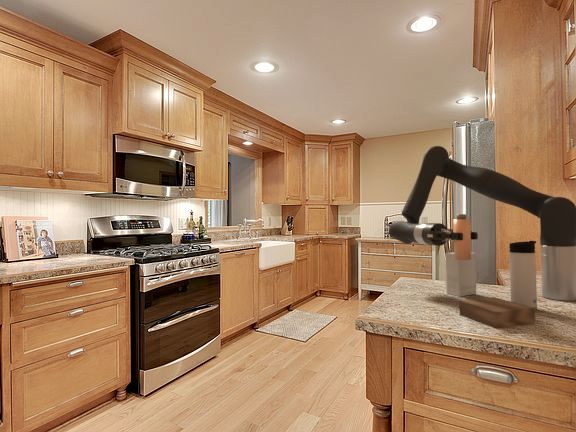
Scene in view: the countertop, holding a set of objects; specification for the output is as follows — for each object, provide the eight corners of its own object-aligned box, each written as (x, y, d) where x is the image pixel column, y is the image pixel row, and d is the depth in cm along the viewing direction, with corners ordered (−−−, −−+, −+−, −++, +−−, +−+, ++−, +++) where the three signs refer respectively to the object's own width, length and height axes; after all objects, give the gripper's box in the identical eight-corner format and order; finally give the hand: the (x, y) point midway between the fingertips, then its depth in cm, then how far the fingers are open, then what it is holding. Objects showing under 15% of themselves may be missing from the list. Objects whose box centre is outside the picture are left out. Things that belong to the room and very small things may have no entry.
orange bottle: (463, 257, 100) (462, 214, 100) (475, 259, 96) (473, 214, 96) (450, 258, 99) (449, 214, 99) (462, 260, 95) (460, 214, 95)
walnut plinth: (494, 310, 94) (493, 297, 94) (534, 323, 82) (534, 307, 83) (459, 314, 91) (459, 300, 91) (496, 328, 80) (496, 312, 80)
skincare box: (463, 291, 119) (462, 250, 120) (477, 294, 114) (476, 252, 114) (445, 293, 117) (444, 252, 117) (459, 297, 111) (458, 253, 111)
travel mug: (543, 312, 92) (541, 241, 92) (517, 311, 93) (515, 241, 93) (531, 306, 98) (529, 240, 98) (507, 305, 99) (505, 240, 100)
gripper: (411, 223, 110) (448, 224, 93) (447, 222, 113) (489, 222, 97) (412, 245, 110) (449, 250, 93) (448, 244, 113) (489, 247, 97)
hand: (469, 236), depth 95 cm, fingers closed on orange bottle, 4 cm apart
